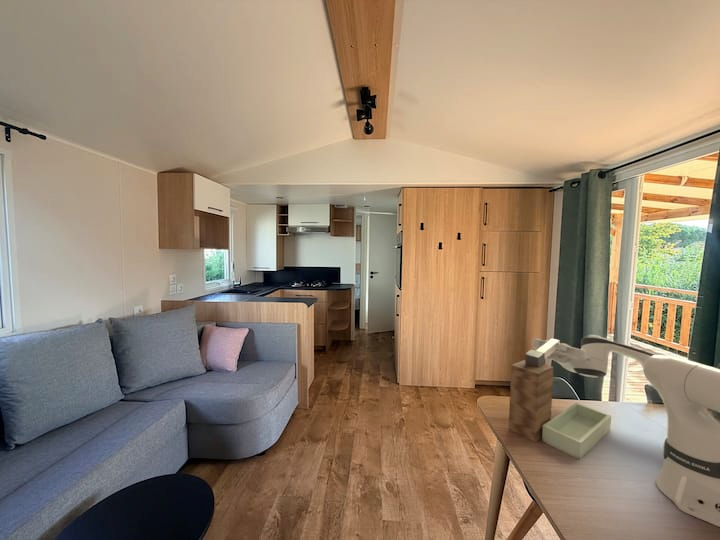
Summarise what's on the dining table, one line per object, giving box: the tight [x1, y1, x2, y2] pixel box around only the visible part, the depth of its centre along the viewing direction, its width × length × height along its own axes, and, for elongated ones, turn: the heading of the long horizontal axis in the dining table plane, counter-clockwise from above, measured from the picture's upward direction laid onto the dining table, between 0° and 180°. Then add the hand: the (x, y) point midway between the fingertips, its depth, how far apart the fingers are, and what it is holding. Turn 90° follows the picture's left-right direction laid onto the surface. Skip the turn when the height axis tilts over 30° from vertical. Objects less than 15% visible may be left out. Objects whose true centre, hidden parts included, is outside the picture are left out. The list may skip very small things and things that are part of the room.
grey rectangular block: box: [524, 338, 561, 367], centre depth 120 cm, size 5×21×4 cm, turn 125°
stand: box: [508, 359, 554, 443], centre depth 115 cm, size 10×12×26 cm
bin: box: [541, 402, 612, 461], centre depth 113 cm, size 12×30×6 cm, turn 125°
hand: (552, 343), depth 124 cm, fingers closed on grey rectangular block, 3 cm apart
